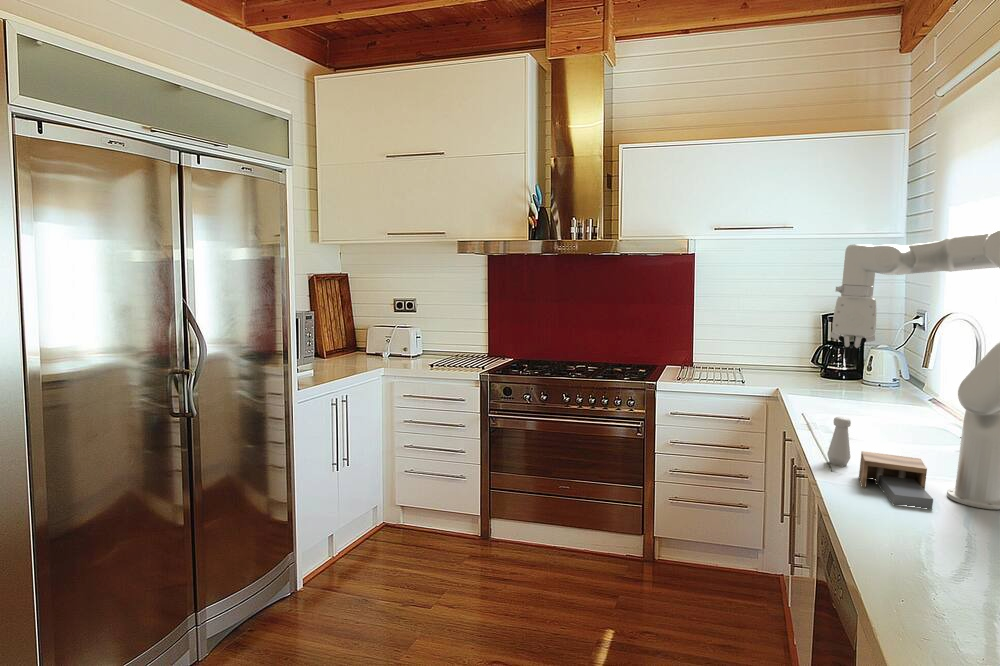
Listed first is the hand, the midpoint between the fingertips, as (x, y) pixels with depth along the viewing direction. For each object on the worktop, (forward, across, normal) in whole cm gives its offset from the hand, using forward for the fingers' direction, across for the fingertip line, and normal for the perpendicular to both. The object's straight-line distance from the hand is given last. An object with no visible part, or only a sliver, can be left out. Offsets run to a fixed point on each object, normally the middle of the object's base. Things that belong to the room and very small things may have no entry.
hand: (849, 361), depth 202 cm
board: (+30, +14, -18) cm, 37 cm away
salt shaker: (+29, 0, +6) cm, 30 cm away
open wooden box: (+29, +11, -10) cm, 33 cm away
